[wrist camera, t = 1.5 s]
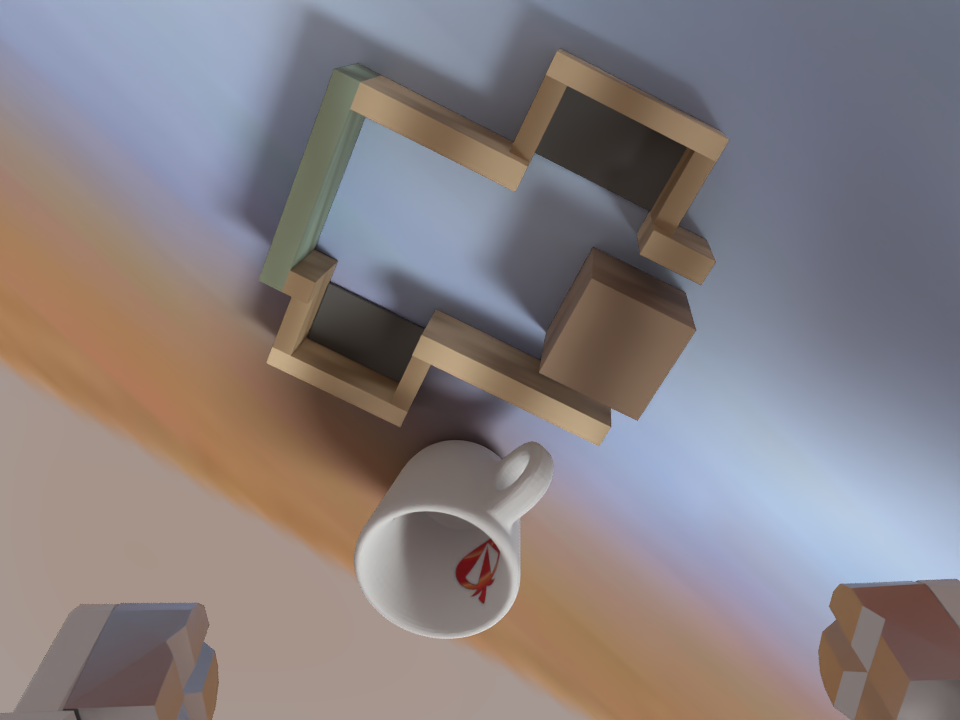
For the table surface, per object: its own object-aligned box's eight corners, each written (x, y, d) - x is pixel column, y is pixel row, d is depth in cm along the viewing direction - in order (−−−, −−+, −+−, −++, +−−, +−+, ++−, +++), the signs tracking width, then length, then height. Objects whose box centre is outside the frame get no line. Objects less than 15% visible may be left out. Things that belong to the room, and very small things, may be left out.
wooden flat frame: (761, 151, 36) (776, 166, 32) (559, 476, 44) (556, 514, 41) (394, -37, 35) (373, -42, 31) (258, 331, 43) (230, 357, 40)
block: (685, 292, 39) (696, 330, 34) (633, 374, 41) (637, 420, 36) (593, 246, 38) (591, 278, 34) (546, 331, 41) (538, 372, 36)
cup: (502, 361, 41) (480, 437, 34) (602, 465, 43) (602, 558, 36) (364, 473, 45) (318, 562, 38) (460, 564, 47) (434, 666, 40)
